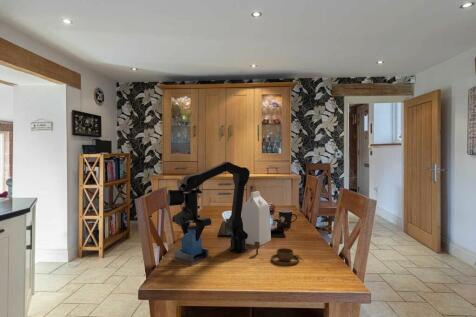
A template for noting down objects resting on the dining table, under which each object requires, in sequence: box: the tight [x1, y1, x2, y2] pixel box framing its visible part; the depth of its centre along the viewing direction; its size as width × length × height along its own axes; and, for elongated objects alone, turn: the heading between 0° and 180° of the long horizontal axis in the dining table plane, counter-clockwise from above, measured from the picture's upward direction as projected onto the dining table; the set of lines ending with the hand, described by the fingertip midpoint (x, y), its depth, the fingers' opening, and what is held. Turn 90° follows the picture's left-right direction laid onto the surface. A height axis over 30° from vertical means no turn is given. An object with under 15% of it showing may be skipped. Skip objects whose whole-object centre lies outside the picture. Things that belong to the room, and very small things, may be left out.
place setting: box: [253, 242, 305, 266], centre depth 135 cm, size 18×20×6 cm
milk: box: [241, 190, 272, 246], centre depth 161 cm, size 12×12×26 cm
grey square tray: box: [171, 247, 212, 267], centre depth 135 cm, size 12×12×4 cm
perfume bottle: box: [180, 224, 203, 256], centre depth 135 cm, size 6×6×12 cm
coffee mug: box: [278, 209, 298, 229], centre depth 192 cm, size 12×9×10 cm
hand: (191, 239), depth 135 cm, fingers closed on perfume bottle, 6 cm apart
